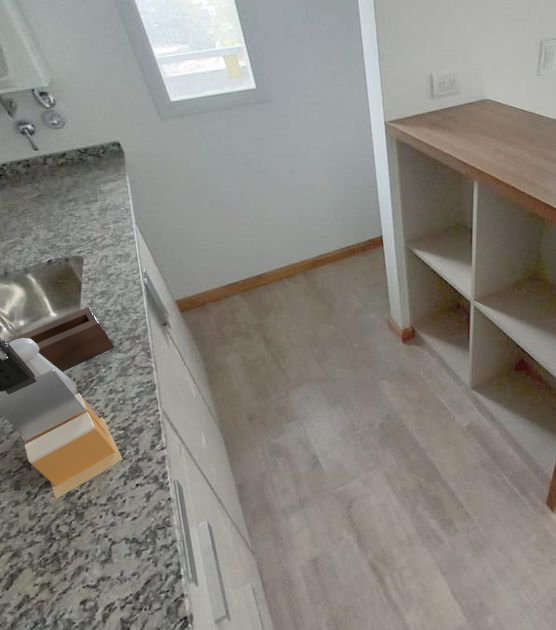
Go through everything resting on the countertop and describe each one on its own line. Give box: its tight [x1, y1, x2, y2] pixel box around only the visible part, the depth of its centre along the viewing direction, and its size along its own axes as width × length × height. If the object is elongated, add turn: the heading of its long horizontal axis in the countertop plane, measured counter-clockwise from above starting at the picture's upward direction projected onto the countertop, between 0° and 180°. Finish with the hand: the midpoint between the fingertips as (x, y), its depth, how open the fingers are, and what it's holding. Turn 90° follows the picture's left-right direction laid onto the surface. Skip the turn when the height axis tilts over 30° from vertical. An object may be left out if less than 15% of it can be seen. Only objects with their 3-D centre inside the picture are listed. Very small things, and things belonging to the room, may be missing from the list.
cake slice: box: [23, 412, 115, 486], centre depth 61 cm, size 8×4×6 cm, turn 134°
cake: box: [21, 392, 123, 500], centre depth 62 cm, size 8×11×7 cm
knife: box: [0, 339, 85, 440], centre depth 56 cm, size 7×2×14 cm, turn 134°
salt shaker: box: [8, 338, 78, 395], centre depth 69 cm, size 6×6×13 cm
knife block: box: [18, 306, 115, 373], centre depth 81 cm, size 11×7×6 cm, turn 134°
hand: (13, 378), depth 55 cm, fingers closed on knife, 1 cm apart
